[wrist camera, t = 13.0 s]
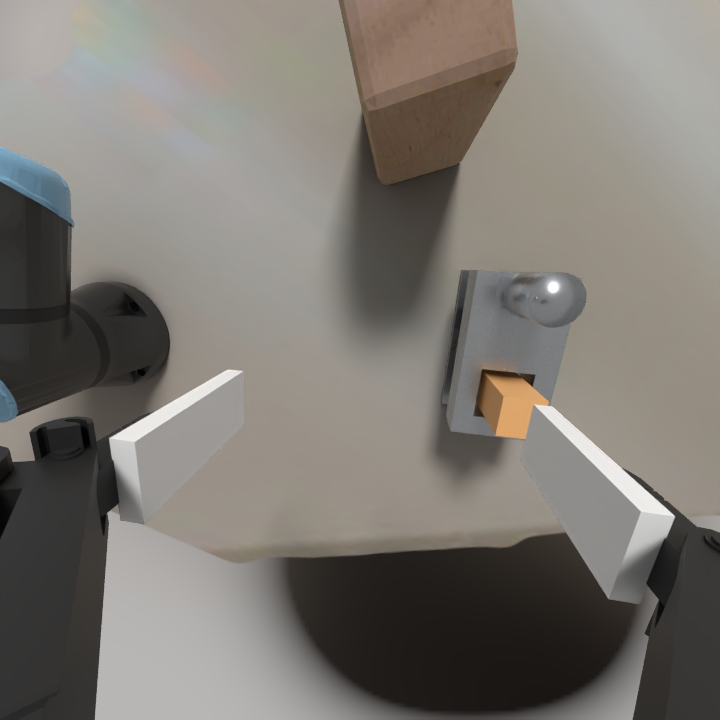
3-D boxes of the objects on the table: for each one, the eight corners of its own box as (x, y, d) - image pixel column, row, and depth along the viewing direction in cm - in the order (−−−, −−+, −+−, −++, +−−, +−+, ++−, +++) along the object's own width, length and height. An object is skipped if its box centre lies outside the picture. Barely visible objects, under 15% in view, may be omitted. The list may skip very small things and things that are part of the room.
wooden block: (463, 164, 39) (525, 62, 20) (380, 189, 41) (363, 117, 21) (448, 67, 37) (502, -157, 17) (361, 97, 38) (322, -76, 19)
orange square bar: (466, 386, 45) (495, 435, 31) (471, 357, 44) (503, 396, 30) (496, 389, 45) (539, 441, 31) (502, 360, 43) (548, 401, 30)
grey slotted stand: (440, 401, 47) (461, 465, 31) (461, 268, 42) (498, 267, 26) (513, 409, 46) (571, 480, 30) (544, 275, 41) (630, 277, 26)
